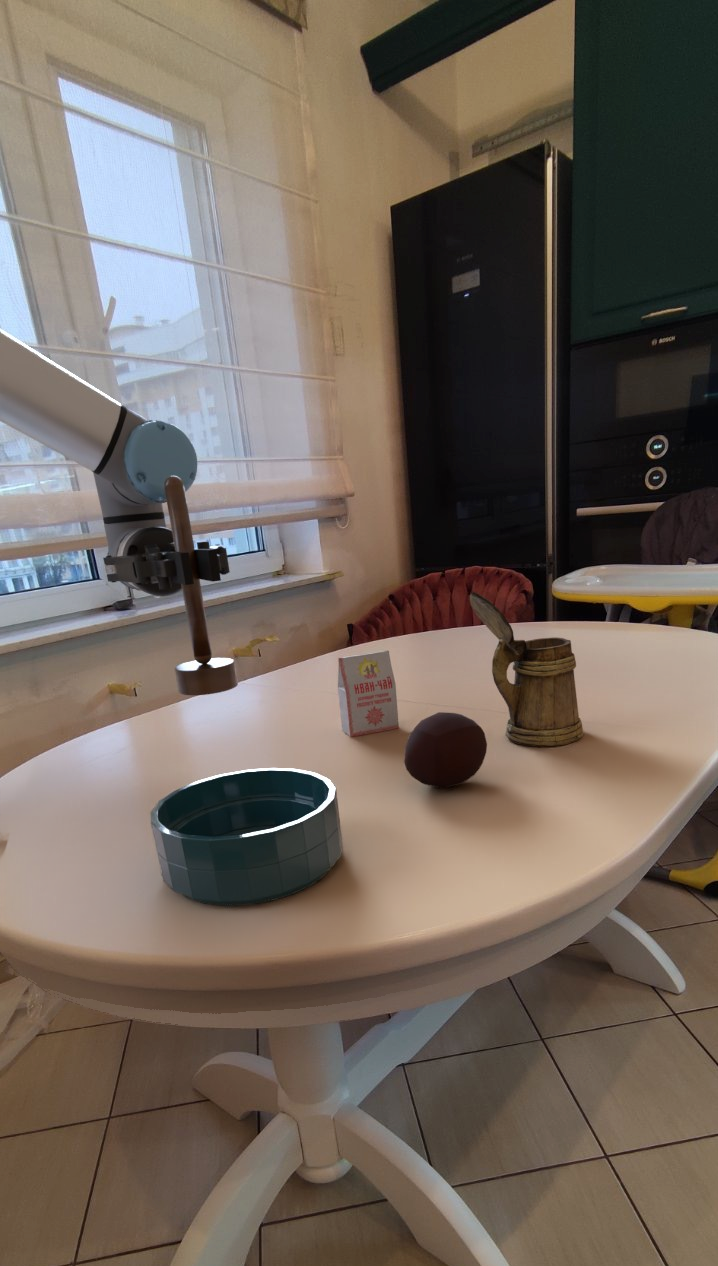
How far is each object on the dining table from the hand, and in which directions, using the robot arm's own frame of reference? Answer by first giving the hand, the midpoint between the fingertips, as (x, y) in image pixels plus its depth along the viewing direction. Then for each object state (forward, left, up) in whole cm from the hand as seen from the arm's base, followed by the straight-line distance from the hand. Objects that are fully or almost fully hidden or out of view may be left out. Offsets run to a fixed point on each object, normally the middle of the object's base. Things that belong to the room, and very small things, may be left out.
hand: (200, 567), depth 65 cm
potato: (+19, +10, -24) cm, 32 cm away
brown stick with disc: (-4, +4, -12) cm, 13 cm away
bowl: (+7, -10, -24) cm, 27 cm away
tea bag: (+4, +29, -24) cm, 38 cm away
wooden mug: (+25, +26, -24) cm, 43 cm away
